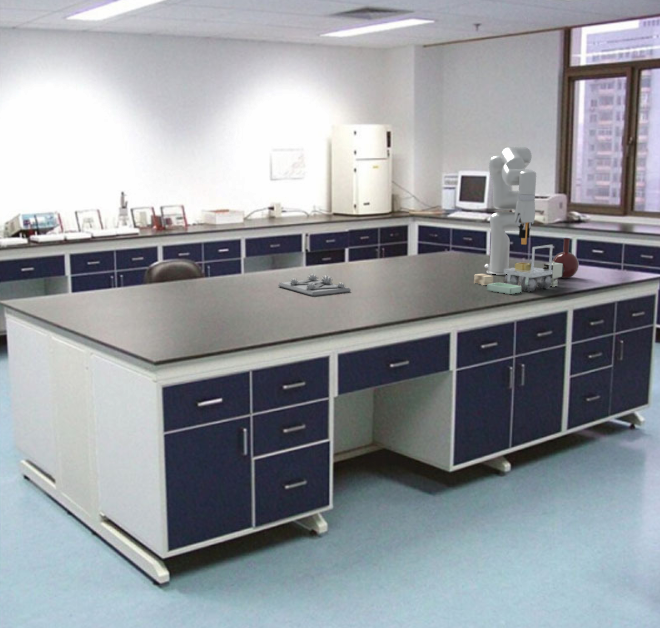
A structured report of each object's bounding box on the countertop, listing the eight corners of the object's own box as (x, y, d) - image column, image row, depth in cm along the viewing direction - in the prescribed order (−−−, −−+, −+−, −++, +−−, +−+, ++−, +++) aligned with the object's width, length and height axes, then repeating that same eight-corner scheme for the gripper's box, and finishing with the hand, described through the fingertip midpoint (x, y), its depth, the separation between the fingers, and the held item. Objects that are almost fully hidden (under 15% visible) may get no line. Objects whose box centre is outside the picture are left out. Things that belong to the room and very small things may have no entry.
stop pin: (518, 244, 411) (519, 220, 409) (522, 243, 414) (524, 220, 411) (524, 244, 409) (526, 221, 406) (528, 244, 411) (530, 220, 409)
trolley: (501, 288, 414) (504, 243, 409) (522, 284, 424) (524, 241, 420) (532, 293, 401) (534, 247, 397) (552, 289, 412) (555, 244, 408)
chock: (473, 283, 426) (474, 274, 425) (482, 282, 429) (482, 273, 428) (484, 286, 419) (484, 276, 418) (492, 285, 422) (493, 276, 421)
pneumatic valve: (563, 285, 421) (565, 261, 418) (549, 288, 413) (550, 263, 411) (553, 284, 425) (555, 259, 422) (539, 287, 417) (540, 261, 415)
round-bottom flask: (583, 279, 441) (586, 239, 437) (564, 281, 435) (567, 240, 430) (564, 275, 452) (566, 236, 448) (545, 277, 446) (547, 237, 442)
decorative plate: (277, 287, 412) (276, 272, 411) (315, 283, 424) (315, 269, 423) (312, 298, 388) (312, 282, 387) (352, 293, 400) (352, 277, 399)
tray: (486, 290, 406) (487, 284, 406) (497, 288, 412) (498, 282, 411) (510, 294, 397) (510, 288, 396) (521, 292, 402) (521, 286, 402)
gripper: (530, 196, 414) (527, 235, 419) (509, 198, 404) (507, 238, 408) (543, 197, 409) (540, 237, 413) (522, 199, 398) (520, 240, 403)
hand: (524, 237), depth 411 cm, fingers closed on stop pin, 2 cm apart
